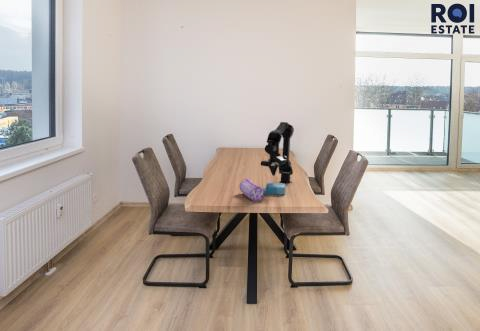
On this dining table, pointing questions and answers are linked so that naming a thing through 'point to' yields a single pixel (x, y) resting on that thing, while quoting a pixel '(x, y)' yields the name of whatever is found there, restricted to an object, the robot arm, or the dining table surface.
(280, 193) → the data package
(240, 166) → the dining table surface
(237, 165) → the dining table surface
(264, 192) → the felt mat
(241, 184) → the pencil case
